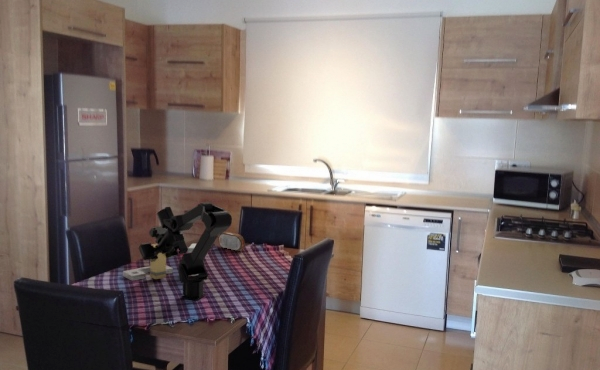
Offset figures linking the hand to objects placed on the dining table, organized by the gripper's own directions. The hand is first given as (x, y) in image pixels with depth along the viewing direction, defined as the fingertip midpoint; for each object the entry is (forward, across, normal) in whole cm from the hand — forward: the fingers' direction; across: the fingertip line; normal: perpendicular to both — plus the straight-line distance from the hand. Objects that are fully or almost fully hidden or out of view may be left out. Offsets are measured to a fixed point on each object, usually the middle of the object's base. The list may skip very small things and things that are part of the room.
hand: (156, 260), depth 211 cm
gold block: (+4, 0, +6) cm, 7 cm away
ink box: (+4, -16, +8) cm, 18 cm away
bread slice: (+20, -52, -9) cm, 56 cm away
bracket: (+10, 0, +1) cm, 10 cm away
